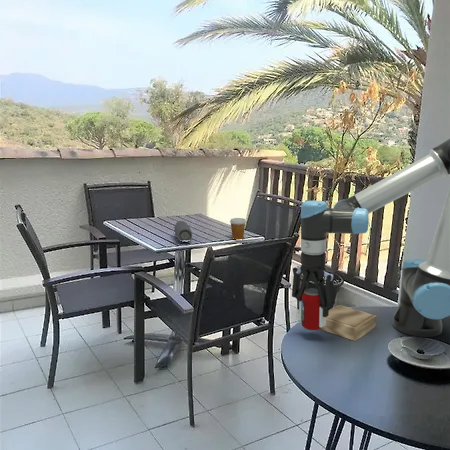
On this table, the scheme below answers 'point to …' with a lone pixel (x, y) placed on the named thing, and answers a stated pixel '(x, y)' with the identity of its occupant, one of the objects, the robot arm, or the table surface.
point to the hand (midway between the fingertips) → (312, 322)
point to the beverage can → (311, 309)
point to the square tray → (349, 322)
